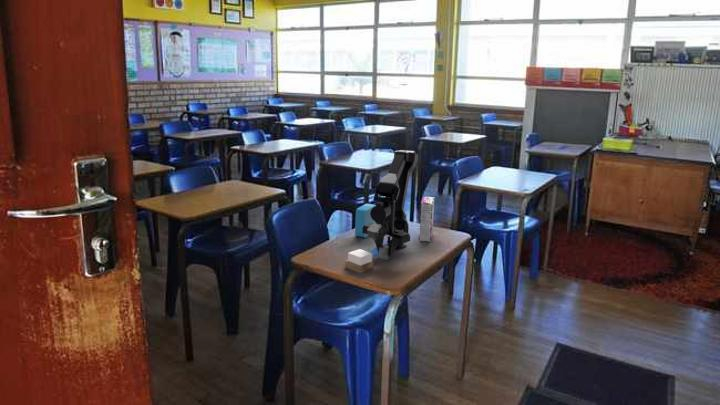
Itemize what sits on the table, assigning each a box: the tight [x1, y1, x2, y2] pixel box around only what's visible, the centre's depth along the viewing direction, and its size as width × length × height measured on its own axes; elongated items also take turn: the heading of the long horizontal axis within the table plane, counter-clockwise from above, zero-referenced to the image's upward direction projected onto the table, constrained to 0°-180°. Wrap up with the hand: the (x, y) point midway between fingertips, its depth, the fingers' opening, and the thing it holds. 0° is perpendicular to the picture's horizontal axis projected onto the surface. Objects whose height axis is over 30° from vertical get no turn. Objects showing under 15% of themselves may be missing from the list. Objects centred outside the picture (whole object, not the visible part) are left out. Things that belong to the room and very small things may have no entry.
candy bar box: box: [418, 196, 436, 243], centre depth 221 cm, size 11×5×16 cm, turn 168°
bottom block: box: [344, 259, 374, 274], centre depth 188 cm, size 7×7×3 cm
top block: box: [347, 248, 373, 266], centre depth 187 cm, size 6×6×3 cm
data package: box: [354, 203, 376, 239], centre depth 224 cm, size 12×4×12 cm, turn 156°
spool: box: [378, 245, 392, 261], centre depth 198 cm, size 4×4×4 cm
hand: (384, 255), depth 198 cm, fingers closed on spool, 4 cm apart
